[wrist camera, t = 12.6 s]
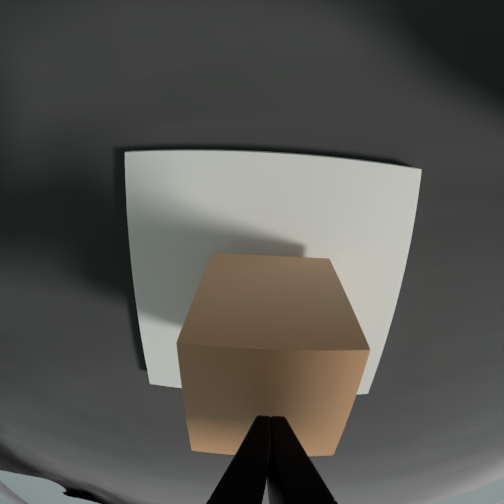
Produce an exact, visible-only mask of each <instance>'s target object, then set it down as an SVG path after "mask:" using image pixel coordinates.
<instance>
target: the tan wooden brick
mask: <svg viewBox="0 0 504 504" xmlns="http://www.w3.org/2000/svg"><path fill="white" fill-rule="evenodd" d="M176 344H177V353H178V362H179V370H180V378H181V385H182V393H183V400H184V406H185V413H186V419H187V426H188V432H189V438H190V444H191V449H192V451H200V452H209V453H219V454H231V455H235V454H236V452H237V451H238V449H239V447H240V445H241V443H242V442H243V440H244V438H245V436H246V434H247V432H248V431H249V429H250V427H251V425H252V423H253V421H254V419H255V418H256V416H258V415H265V416H270V417H272V416H284V417H285V418H286V419H287V421H288V422H289V424H290V426H291V428H292V429H293V431H294V433H295V435H296V436H297V438H298V440H299V441H300V443H301V445H302V446H303V448H304V450H305V452H306V453H307V455H308V456H327V455H333V454H334V452H335V450H336V447H337V445H338V442H339V440H340V437H341V435H342V432H343V430H344V427H345V424H346V422H347V419H348V416H349V414H350V411H351V408H352V405H353V403H354V400H355V397H356V394H357V391H358V388H359V385H360V382H361V379H362V376H363V373H364V370H365V367H366V363H367V360H368V357H369V353H370V347H369V345H368V343H367V340H366V338H365V336H364V333H363V331H362V329H361V326H360V324H359V322H358V320H357V317H356V315H355V313H354V311H353V308H352V306H351V304H350V302H349V300H348V297H347V295H346V293H345V291H344V289H343V287H342V284H341V282H340V280H339V278H338V276H337V274H336V272H335V269H334V267H333V265H332V263H331V261H330V259H329V258H309V257H288V256H268V255H248V254H228V253H212V254H211V257H210V259H209V262H208V264H207V267H206V269H205V271H204V274H203V276H202V279H201V281H200V284H199V286H198V289H197V291H196V294H195V296H194V299H193V301H192V304H191V306H190V309H189V311H188V314H187V316H186V319H185V321H184V324H183V327H182V329H181V332H180V334H179V337H178V340H177V342H176Z"/></svg>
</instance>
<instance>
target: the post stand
mask: <svg viewBox="0 0 504 504" xmlns="http://www.w3.org/2000/svg"><path fill="white" fill-rule="evenodd" d="M421 171H422V170H421V169H418V168H415V167H410V166H404V165H397V164H390V163H383V162H376V161H368V160H360V159H351V158H342V157H333V156H322V155H311V154H298V153H284V152H267V151H246V150H204V149H179V150H137V151H128V152H125V184H126V206H127V222H128V235H129V247H130V257H131V267H132V276H133V284H134V292H135V300H136V307H137V314H138V320H139V327H140V333H141V339H142V345H143V350H144V356H145V361H146V366H147V371H148V376H149V381H150V384H155V385H162V386H169V387H176V388H182V385H181V378H180V370H179V362H178V353H177V344H176V342H177V340H178V337H179V334H180V332H181V329H182V327H183V324H184V321H185V319H186V316H187V314H188V311H189V309H190V306H191V304H192V301H193V299H194V296H195V294H196V291H197V289H198V286H199V284H200V281H201V279H202V276H203V274H204V271H205V269H206V267H207V264H208V262H209V259H210V257H211V254H212V253H228V254H248V255H268V256H288V257H309V258H329V259H330V261H331V263H332V265H333V267H334V269H335V272H336V274H337V276H338V278H339V280H340V282H341V284H342V287H343V289H344V291H345V293H346V295H347V297H348V300H349V302H350V304H351V306H352V308H353V311H354V313H355V315H356V317H357V320H358V322H359V324H360V326H361V329H362V331H363V333H364V336H365V338H366V340H367V343H368V345H369V347H370V353H369V357H368V360H367V363H366V367H365V370H364V373H363V376H362V379H361V382H360V385H359V388H358V391H357V394H368V392H369V389H370V386H371V384H372V381H373V378H374V375H375V372H376V369H377V366H378V363H379V360H380V357H381V354H382V351H383V348H384V345H385V342H386V338H387V335H388V332H389V328H390V325H391V321H392V318H393V314H394V310H395V307H396V303H397V299H398V295H399V291H400V287H401V283H402V279H403V275H404V270H405V266H406V261H407V256H408V252H409V247H410V242H411V236H412V231H413V225H414V220H415V214H416V207H417V201H418V194H419V187H420V179H421Z"/></svg>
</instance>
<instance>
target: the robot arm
mask: <svg viewBox="0 0 504 504" xmlns="http://www.w3.org/2000/svg"><path fill="white" fill-rule="evenodd" d="M266 479H267V486H268V495H269V504H338V503H337V502H336V501H334V497H333V496H332V494H331V493H330V491H329V489H328V488H327V486H326V485H325V483H324V481H323V480H322V478H321V476H320V475H319V473H318V471H317V470H316V468H315V467H314V465H313V463H312V462H311V460H310V458H309V457H308V455H307V453H306V452H305V450H304V448H303V446H302V445H301V443H300V441H299V440H298V438H297V436H296V435H295V433H294V431H293V429H292V428H291V426H290V424H289V422H288V421H287V419H286V418H285V417H284V416H272V417H270V416H265V415H258V416H256V418H255V419H254V421H253V423H252V425H251V427H250V429H249V431H248V432H247V434H246V436H245V438H244V440H243V442H242V443H241V445H240V447H239V449H238V451H237V452H236V454H235V456H234V458H233V459H232V461H231V463H230V465H229V466H228V468H227V470H226V472H225V473H224V475H223V477H222V478H221V480H220V482H219V483H218V485H217V487H216V488H215V490H214V492H213V493H212V495H211V497H210V499H209V500H208V501H207V503H206V504H262V500H263V495H264V490H265V485H266Z"/></svg>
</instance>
